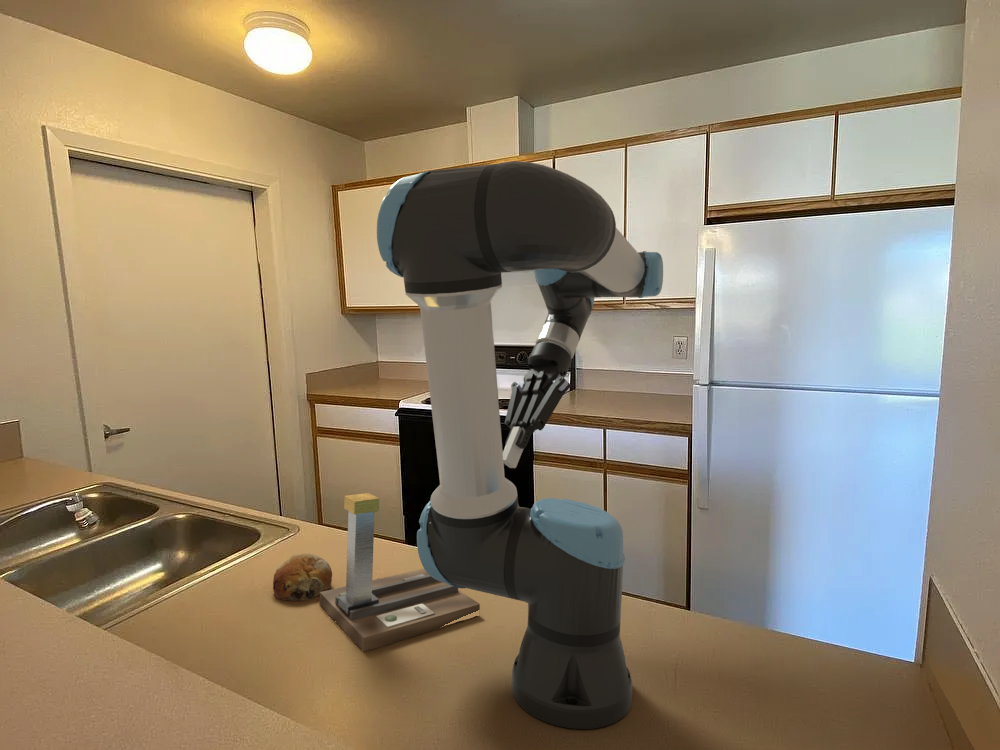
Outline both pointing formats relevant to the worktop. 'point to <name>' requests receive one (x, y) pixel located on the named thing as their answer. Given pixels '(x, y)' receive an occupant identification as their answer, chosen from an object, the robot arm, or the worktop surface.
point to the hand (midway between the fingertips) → (507, 463)
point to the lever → (359, 552)
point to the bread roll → (302, 577)
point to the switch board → (399, 609)
